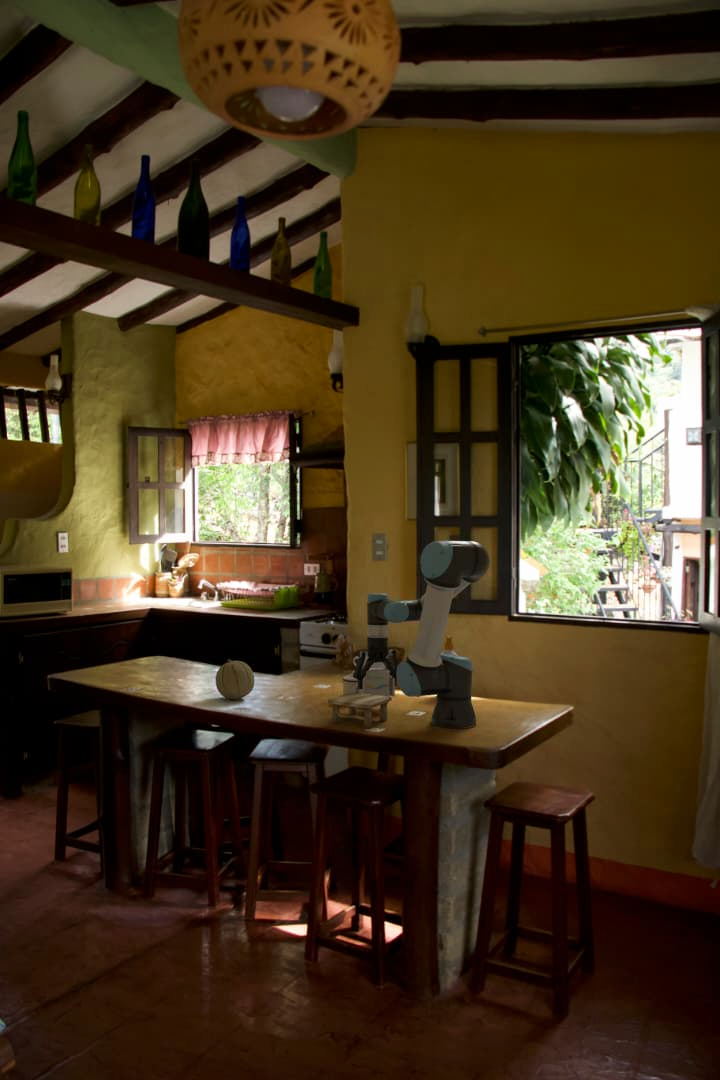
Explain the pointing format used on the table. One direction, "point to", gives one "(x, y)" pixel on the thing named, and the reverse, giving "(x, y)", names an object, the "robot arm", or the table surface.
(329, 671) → the table surface
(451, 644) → the soap bottle
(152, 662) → the table surface
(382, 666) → the teacup
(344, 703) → the footstool
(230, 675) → the cantaloupe
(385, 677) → the ink box
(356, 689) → the teacup with lid
